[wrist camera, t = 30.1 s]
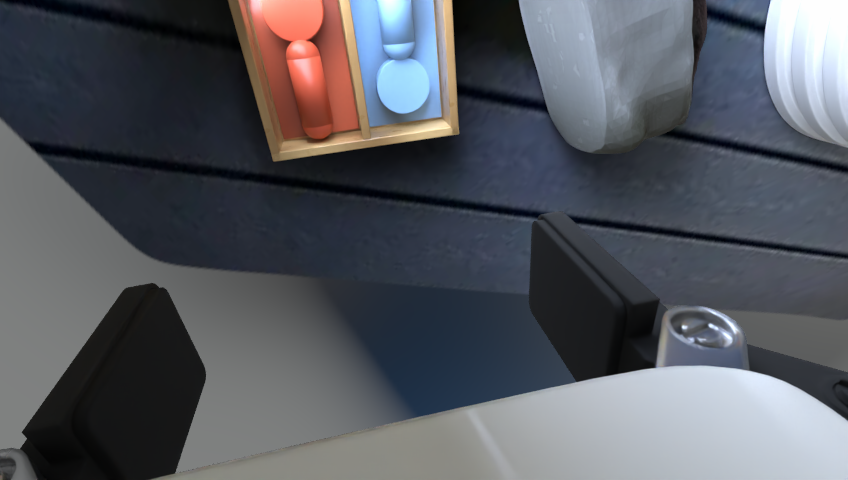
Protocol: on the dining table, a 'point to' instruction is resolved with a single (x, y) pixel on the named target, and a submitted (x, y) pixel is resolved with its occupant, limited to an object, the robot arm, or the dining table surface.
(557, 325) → the robot arm
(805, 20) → the plate stack
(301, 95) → the red knob peg
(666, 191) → the dining table surface
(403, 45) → the blue disc-ended peg
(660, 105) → the rock
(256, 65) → the caddy
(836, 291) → the dining table surface
